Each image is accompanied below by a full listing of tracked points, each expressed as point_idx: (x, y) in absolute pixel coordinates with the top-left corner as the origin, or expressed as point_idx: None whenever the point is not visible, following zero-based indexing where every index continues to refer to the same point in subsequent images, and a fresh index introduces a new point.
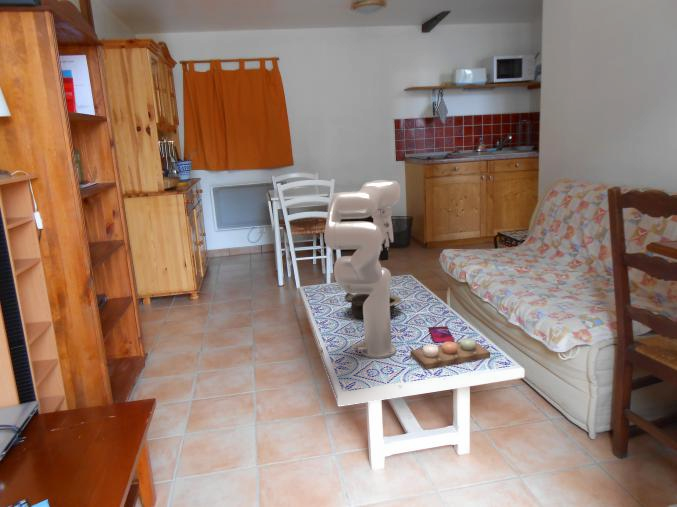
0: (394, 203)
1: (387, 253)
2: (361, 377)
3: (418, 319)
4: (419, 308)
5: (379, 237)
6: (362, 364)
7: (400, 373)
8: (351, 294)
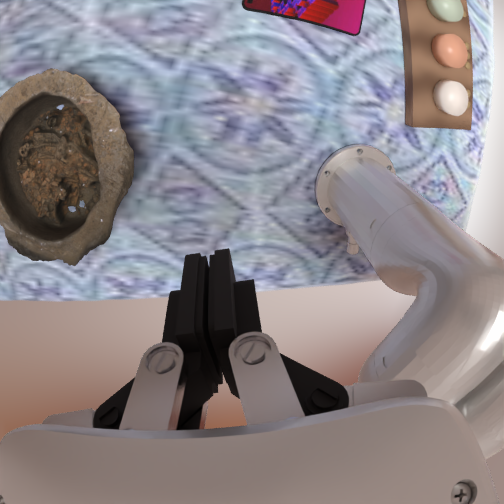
0: None
1: (231, 296)
2: None
3: (148, 21)
4: (54, 16)
5: None
6: None
7: (454, 173)
8: (8, 236)
